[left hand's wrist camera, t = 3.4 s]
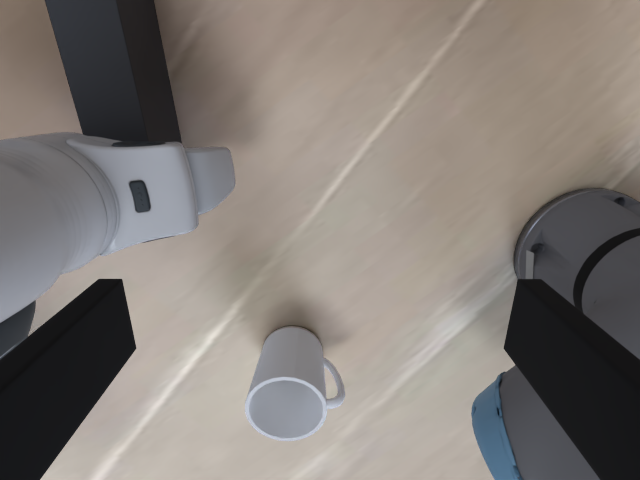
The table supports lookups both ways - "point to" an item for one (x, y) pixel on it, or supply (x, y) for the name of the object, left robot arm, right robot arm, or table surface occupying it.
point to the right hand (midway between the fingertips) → (150, 165)
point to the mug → (291, 386)
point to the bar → (116, 68)
